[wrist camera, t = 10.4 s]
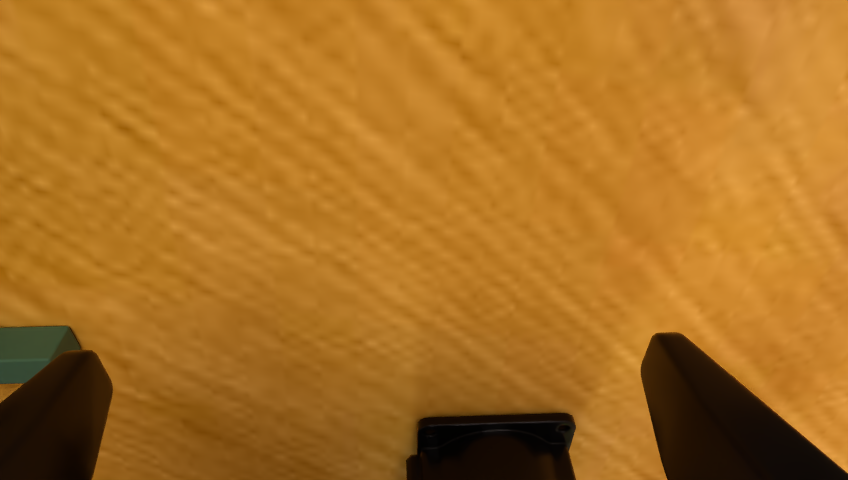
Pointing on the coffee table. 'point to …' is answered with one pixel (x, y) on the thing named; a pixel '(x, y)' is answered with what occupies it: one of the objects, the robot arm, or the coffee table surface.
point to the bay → (31, 350)
